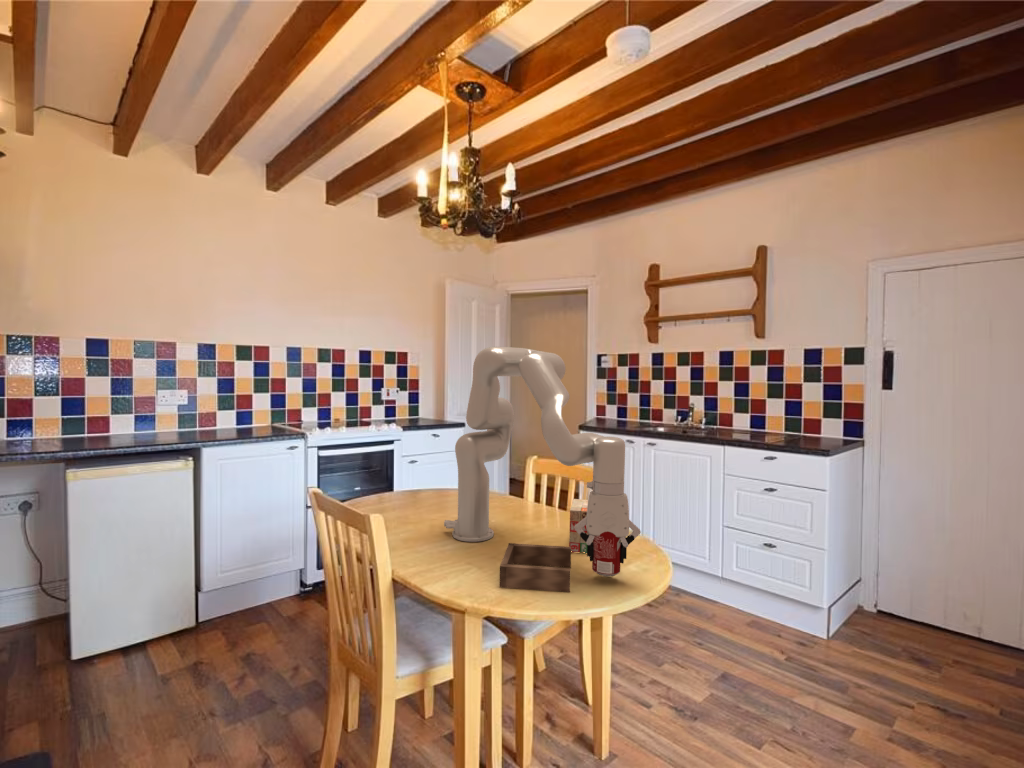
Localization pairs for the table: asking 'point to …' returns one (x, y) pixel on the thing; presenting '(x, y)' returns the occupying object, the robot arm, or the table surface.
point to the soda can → (606, 554)
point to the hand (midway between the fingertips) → (606, 559)
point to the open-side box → (536, 567)
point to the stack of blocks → (576, 515)
